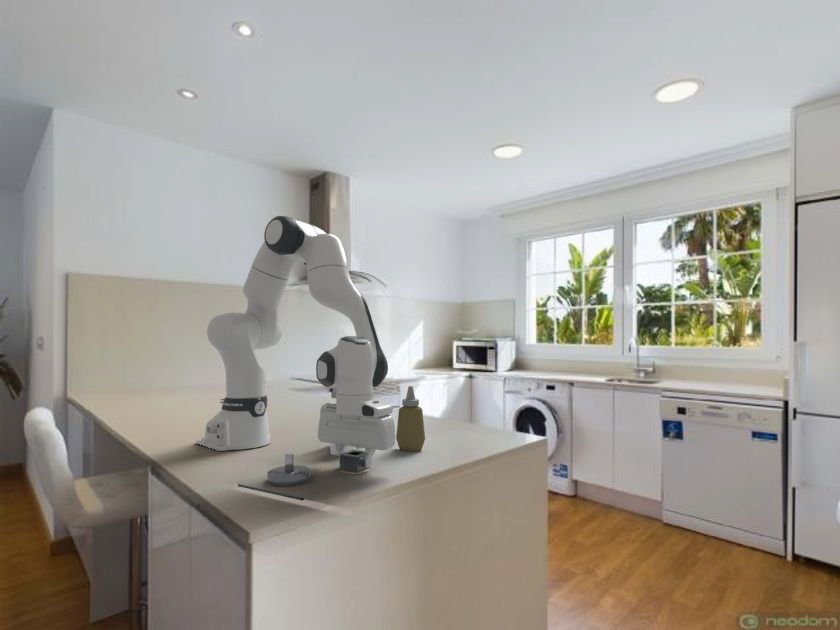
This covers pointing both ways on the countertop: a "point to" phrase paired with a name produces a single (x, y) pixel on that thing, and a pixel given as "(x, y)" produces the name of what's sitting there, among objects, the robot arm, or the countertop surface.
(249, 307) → the robot arm
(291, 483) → the grey plate with knob
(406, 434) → the squeeze bottle
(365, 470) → the stand
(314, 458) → the countertop surface
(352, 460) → the square hollow frame
